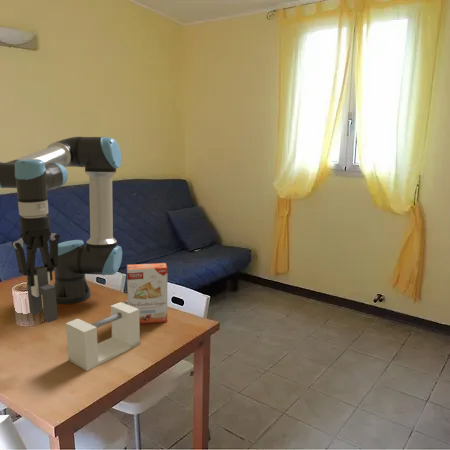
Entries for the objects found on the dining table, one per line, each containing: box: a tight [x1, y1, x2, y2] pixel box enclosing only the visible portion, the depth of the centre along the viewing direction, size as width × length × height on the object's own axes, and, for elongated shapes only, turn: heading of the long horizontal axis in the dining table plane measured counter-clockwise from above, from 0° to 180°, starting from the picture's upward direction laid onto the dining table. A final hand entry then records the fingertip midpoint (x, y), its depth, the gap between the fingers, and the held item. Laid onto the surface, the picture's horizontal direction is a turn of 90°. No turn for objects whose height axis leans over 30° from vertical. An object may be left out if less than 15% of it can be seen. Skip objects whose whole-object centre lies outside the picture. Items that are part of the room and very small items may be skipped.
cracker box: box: [126, 262, 168, 325], centre depth 148 cm, size 14×6×21 cm, turn 103°
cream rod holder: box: [65, 301, 141, 372], centre depth 127 cm, size 9×20×12 cm, turn 143°
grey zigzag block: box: [26, 265, 59, 323], centre depth 121 cm, size 10×3×15 cm, turn 53°
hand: (41, 293), depth 121 cm, fingers closed on grey zigzag block, 3 cm apart
